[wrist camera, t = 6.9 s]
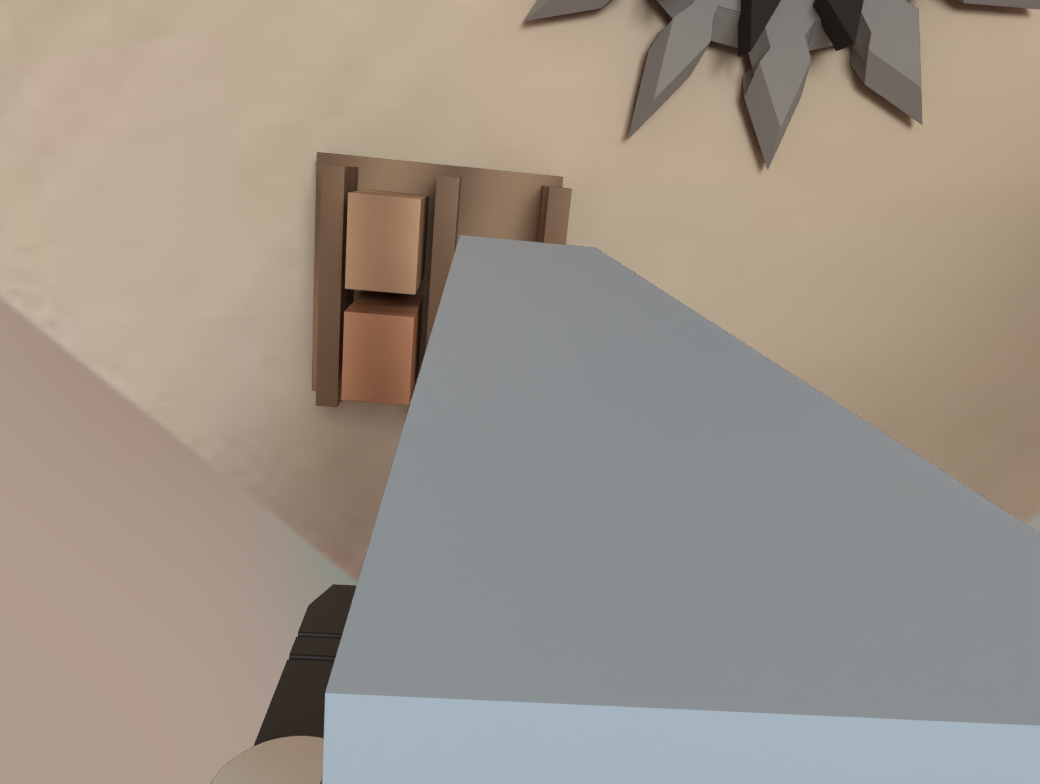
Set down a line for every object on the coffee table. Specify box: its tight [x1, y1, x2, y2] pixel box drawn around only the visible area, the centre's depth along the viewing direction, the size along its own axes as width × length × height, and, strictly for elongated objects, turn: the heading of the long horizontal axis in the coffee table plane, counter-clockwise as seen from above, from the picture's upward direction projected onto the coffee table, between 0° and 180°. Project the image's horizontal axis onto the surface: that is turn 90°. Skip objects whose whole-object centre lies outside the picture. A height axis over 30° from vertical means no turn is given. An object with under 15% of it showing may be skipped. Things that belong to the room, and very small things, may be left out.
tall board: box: [323, 235, 1040, 784], centre depth 11 cm, size 3×9×15 cm, turn 174°
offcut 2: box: [341, 291, 423, 405], centre depth 36 cm, size 3×4×6 cm
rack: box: [312, 152, 572, 407], centre depth 37 cm, size 12×12×6 cm
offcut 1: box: [345, 189, 429, 295], centre depth 35 cm, size 3×4×6 cm
